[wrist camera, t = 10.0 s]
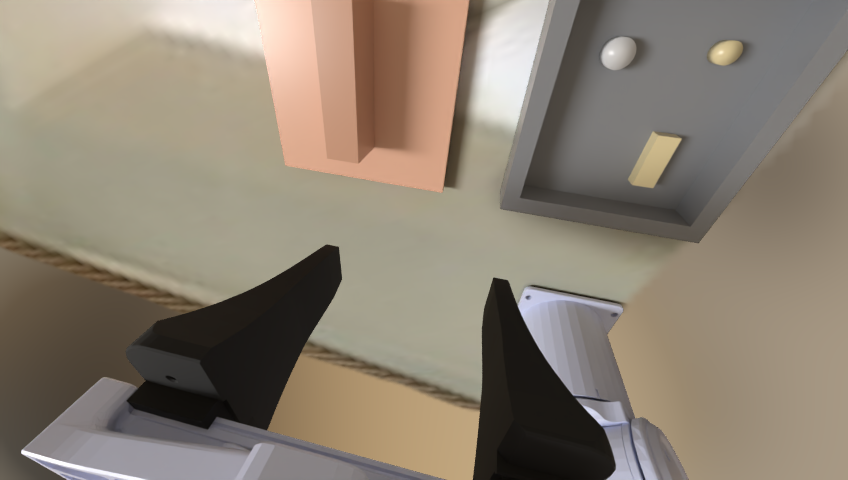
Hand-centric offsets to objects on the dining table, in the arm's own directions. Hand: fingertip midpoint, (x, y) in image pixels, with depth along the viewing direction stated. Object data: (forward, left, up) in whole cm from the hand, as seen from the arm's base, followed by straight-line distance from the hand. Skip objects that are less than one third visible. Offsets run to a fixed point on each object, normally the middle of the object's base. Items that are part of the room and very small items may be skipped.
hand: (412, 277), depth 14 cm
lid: (+6, +6, -10) cm, 13 cm away
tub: (+7, -10, -10) cm, 16 cm away
